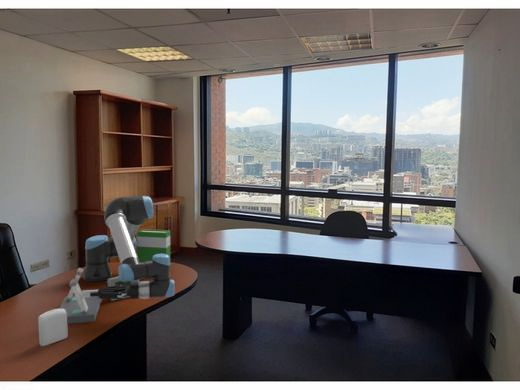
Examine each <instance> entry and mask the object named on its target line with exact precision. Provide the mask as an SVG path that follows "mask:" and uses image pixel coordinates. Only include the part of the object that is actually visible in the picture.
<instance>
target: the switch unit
mask: <svg viewBox="0 0 520 390" xmlns="http://www.w3.org/2000/svg"><path fill="white" fill-rule="evenodd" d="M67 297H68V296H65V297H64V299H63V301H62V302H61V303H60V306H59V307H58V309H65V310H66V313H67V324H77V323H91V322H93V323H94V322H95V321H96V318H97V315H98V312H99V309H100V307H101V304H102V301H103V300H102V299H100V298H99V297H86V298H84V299H85V301H86V304H87V306H88V310H87V312H86V313H85V314H83V313H82V311H81V309H80V306H79V304H78V301H77V299H76V296H75V295H72V298H71V300H70V301H69V302H68V301H66V299H67Z"/></svg>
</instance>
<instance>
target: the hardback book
mask: <svg viewBox="0 0 520 390" xmlns="http://www.w3.org/2000/svg"><path fill="white" fill-rule="evenodd" d="M136 237H137V238H136V243H137V257H138V259H139V262H143V261H150V260H152V258H153V256H154V255H156V254H167V255H168V256H169V258H170V259H171V229H168V230H167V229H152V228H151V229H148V228H147V229H145V228H142V229H141V230H139V231H137V233H136Z"/></svg>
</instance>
